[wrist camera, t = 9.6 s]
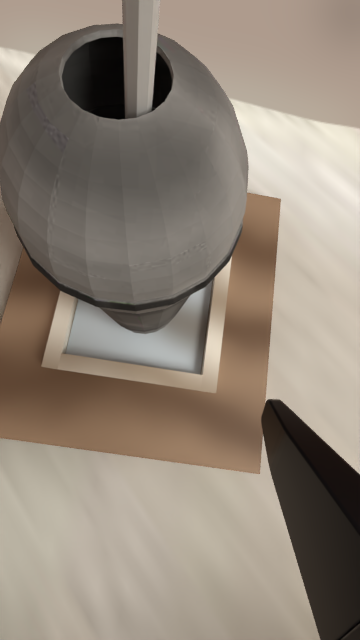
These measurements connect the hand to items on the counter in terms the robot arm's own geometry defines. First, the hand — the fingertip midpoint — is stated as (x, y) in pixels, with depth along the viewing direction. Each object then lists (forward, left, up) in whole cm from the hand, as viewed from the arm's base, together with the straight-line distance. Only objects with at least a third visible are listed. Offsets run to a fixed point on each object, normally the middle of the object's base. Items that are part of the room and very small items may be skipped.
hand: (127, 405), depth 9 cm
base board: (+6, +1, -11) cm, 13 cm away
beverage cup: (+6, +1, -10) cm, 12 cm away
